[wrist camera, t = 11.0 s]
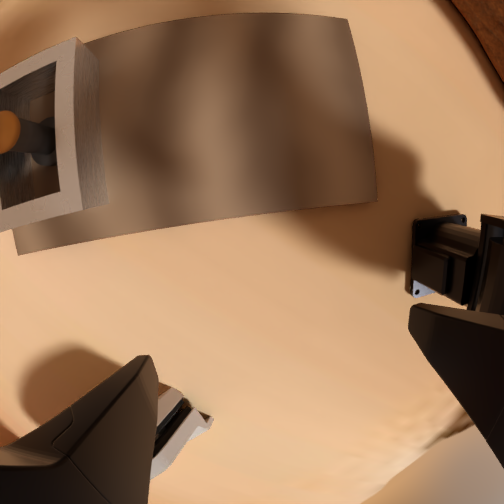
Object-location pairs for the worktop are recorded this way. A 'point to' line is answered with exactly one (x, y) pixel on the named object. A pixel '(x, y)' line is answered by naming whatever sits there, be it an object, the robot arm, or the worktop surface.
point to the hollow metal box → (66, 132)
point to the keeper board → (211, 126)
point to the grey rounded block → (174, 429)
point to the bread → (487, 27)
